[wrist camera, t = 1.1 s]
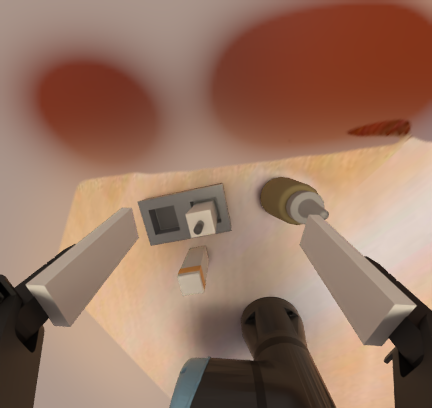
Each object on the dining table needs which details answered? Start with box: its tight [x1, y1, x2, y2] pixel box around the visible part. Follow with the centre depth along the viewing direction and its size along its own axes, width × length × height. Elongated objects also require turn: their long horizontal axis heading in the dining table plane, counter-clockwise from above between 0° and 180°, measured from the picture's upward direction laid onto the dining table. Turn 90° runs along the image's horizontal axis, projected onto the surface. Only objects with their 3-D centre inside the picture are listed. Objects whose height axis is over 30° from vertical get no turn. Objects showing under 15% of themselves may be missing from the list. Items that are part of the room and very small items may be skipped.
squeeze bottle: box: [260, 177, 329, 225], centre depth 28 cm, size 8×8×18 cm
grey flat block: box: [138, 183, 232, 246], centre depth 36 cm, size 10×18×4 cm, turn 102°
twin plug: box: [185, 199, 218, 238], centre depth 30 cm, size 4×4×14 cm
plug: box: [177, 246, 209, 296], centre depth 35 cm, size 4×4×11 cm
